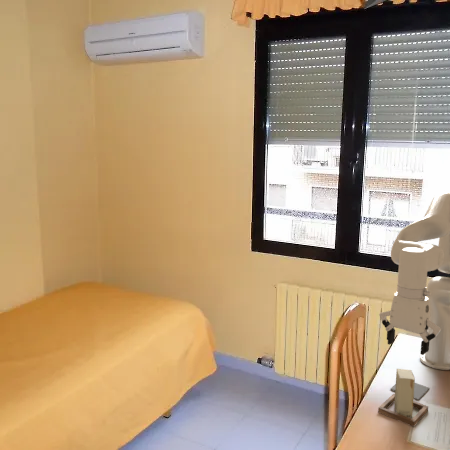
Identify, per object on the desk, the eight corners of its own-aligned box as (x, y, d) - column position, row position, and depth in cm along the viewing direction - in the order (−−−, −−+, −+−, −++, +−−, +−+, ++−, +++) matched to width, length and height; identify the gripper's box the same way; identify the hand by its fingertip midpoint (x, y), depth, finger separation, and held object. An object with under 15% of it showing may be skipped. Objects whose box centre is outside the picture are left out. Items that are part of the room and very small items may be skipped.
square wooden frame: (393, 397, 149) (393, 393, 149) (427, 410, 142) (428, 406, 142) (378, 412, 142) (378, 407, 141) (413, 426, 135) (414, 422, 134)
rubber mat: (402, 379, 160) (402, 378, 160) (429, 389, 154) (429, 387, 154) (390, 389, 154) (390, 388, 154) (418, 400, 148) (418, 399, 148)
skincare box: (412, 418, 138) (415, 380, 136) (396, 417, 139) (399, 378, 137) (408, 406, 145) (411, 369, 142) (393, 404, 145) (396, 367, 143)
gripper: (447, 295, 131) (442, 353, 135) (387, 282, 143) (384, 335, 146) (437, 302, 126) (432, 362, 129) (376, 288, 138) (372, 343, 141)
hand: (406, 348), depth 138 cm, fingers open, 9 cm apart
